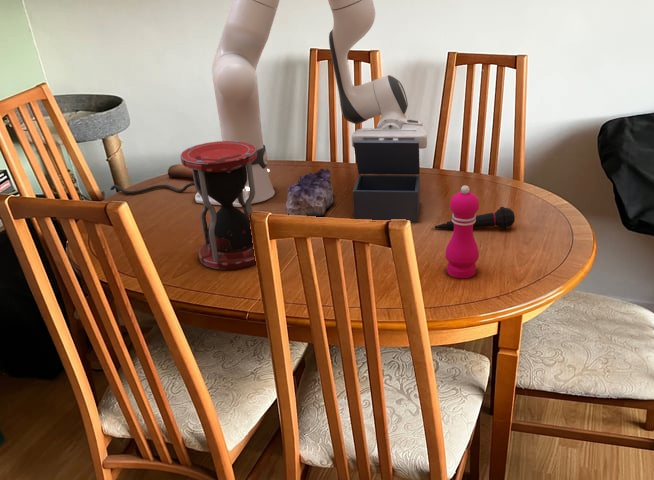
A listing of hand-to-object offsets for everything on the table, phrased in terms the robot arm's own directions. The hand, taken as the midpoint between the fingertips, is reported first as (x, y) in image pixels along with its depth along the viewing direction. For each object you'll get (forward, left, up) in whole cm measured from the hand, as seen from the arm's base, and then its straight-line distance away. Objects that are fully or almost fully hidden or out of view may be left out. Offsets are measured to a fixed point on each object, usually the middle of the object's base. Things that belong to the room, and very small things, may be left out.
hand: (387, 147), depth 160 cm
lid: (0, 0, -3) cm, 3 cm away
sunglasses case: (-61, +23, -17) cm, 68 cm away
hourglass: (-34, -30, -17) cm, 48 cm away
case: (0, -3, -17) cm, 17 cm away
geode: (-21, 0, -17) cm, 27 cm away
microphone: (+23, -12, -17) cm, 31 cm away
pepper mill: (+19, -36, -17) cm, 44 cm away
